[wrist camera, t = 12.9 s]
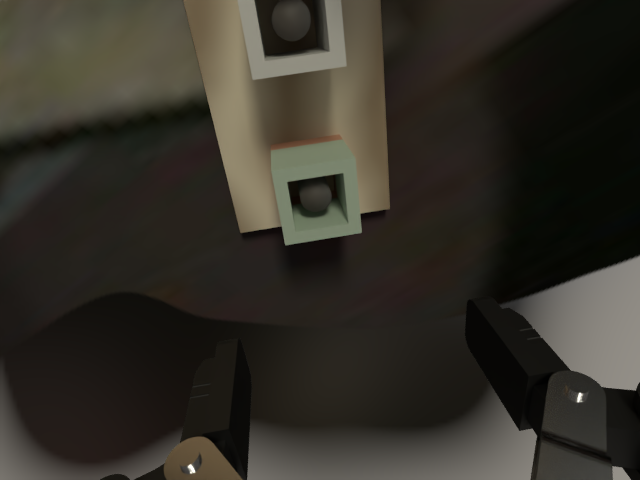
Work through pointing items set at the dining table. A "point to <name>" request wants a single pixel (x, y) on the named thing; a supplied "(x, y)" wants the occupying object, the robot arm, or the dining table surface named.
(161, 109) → the dining table surface
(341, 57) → the grey sleeve
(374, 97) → the pin board
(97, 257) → the dining table surface
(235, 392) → the robot arm
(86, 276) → the dining table surface
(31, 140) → the dining table surface
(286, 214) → the sage sleeve
